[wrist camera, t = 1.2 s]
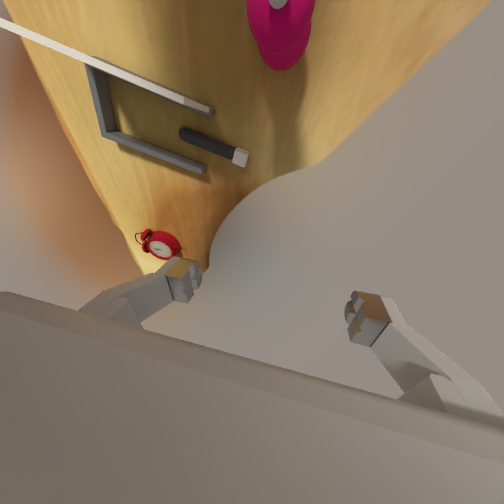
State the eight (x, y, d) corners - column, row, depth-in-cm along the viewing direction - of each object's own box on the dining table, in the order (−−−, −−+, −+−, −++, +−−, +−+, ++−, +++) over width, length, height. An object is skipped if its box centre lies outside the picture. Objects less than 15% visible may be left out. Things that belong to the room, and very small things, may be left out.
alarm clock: (178, 265, 64) (131, 258, 60) (182, 252, 68) (138, 245, 64) (179, 245, 57) (126, 236, 53) (183, 232, 61) (134, 223, 57)
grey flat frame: (96, 56, 32) (82, 54, 30) (214, 107, 34) (209, 109, 32) (111, 133, 40) (101, 136, 38) (205, 170, 43) (201, 174, 41)
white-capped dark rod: (181, 137, 39) (175, 140, 37) (181, 123, 37) (176, 126, 35) (246, 163, 40) (244, 167, 39) (249, 151, 39) (247, 155, 37)
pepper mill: (291, 81, 30) (294, 76, 16) (253, 57, 29) (218, 29, 15) (318, 16, 25) (358, -76, 11) (273, -16, 24) (251, -165, 10)
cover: (82, 59, 30) (82, 52, 30) (208, 113, 32) (209, 107, 32) (-2, 25, 21) (-5, 15, 20) (183, 104, 23) (184, 96, 23)
